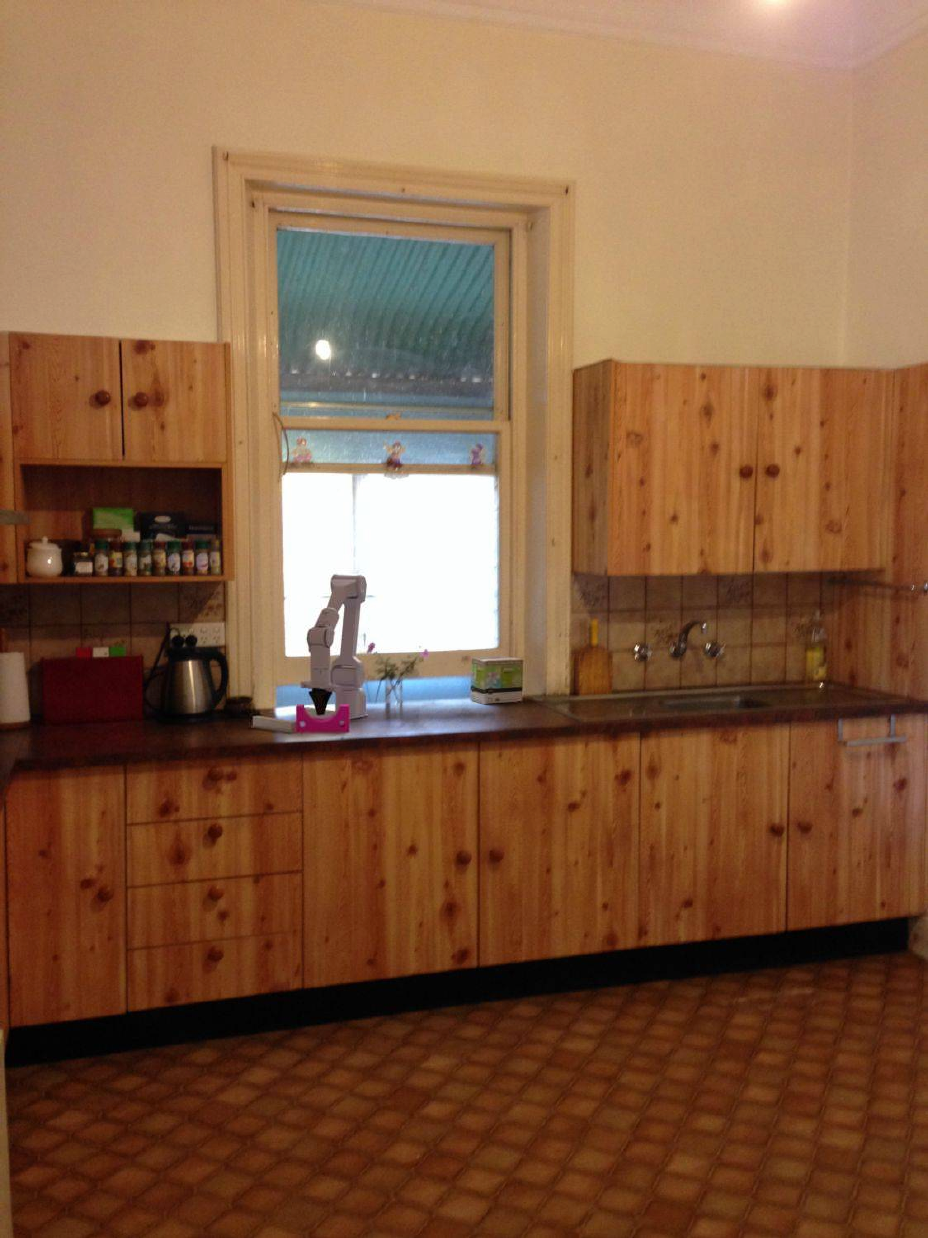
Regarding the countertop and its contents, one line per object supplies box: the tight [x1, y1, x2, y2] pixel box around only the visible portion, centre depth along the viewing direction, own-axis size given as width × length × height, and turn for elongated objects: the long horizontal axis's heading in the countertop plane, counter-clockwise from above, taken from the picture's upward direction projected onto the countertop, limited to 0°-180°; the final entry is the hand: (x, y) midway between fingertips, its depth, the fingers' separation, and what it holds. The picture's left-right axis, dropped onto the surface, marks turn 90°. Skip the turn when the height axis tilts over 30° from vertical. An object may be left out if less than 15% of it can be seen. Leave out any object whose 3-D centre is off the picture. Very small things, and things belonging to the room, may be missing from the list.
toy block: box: [295, 704, 351, 733], centre depth 312 cm, size 15×6×8 cm, turn 95°
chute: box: [250, 706, 345, 734], centre depth 321 cm, size 24×16×3 cm
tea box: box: [470, 656, 524, 705], centre depth 366 cm, size 15×10×15 cm, turn 119°
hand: (320, 714), depth 315 cm, fingers closed
